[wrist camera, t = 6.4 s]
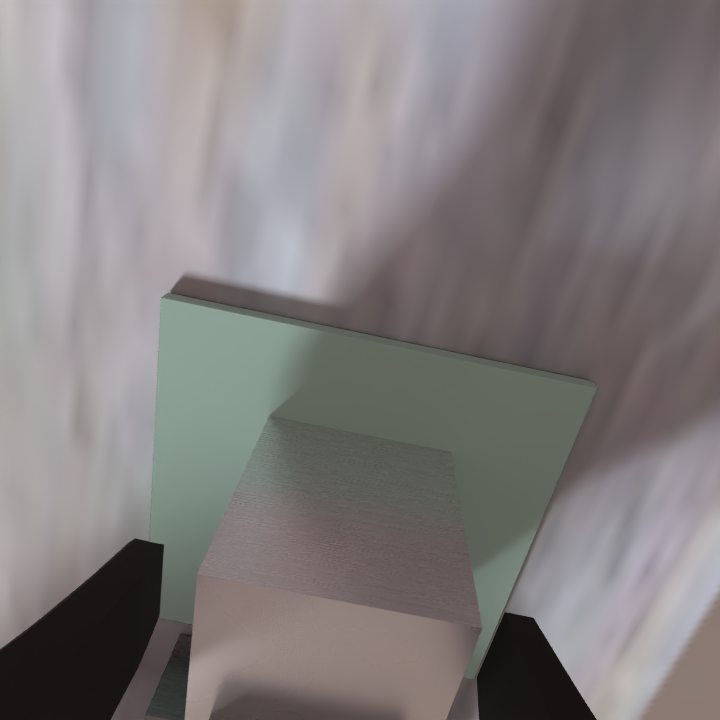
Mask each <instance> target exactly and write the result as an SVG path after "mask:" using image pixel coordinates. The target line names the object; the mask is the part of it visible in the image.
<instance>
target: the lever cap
mask: <svg viewBox="0 0 720 720" xmlns="http://www.w3.org/2000/svg"><path fill="white" fill-rule="evenodd" d="M481 631H482V623H481V617H480V612H479V606H478V600H477V595H476V589H475V583H474V578H473V572H472V566H471V561H470V555H469V550H468V544H467V538H466V533H465V527H464V521H463V516H462V510H461V505H460V499H459V493H458V488H457V482H456V476H455V471H454V465H453V459H452V454H451V452H450V451H445V450H440V449H435V448H430V447H425V446H420V445H415V444H410V443H405V442H399V441H394V440H389V439H384V438H379V437H374V436H369V435H364V434H359V433H354V432H349V431H344V430H339V429H334V428H328V427H323V426H318V425H313V424H308V423H303V422H298V421H293V420H288V419H283V418H278V417H273V416H269V417H268V419H267V421H266V423H265V426H264V428H263V430H262V432H261V434H260V437H259V439H258V441H257V443H256V445H255V448H254V450H253V452H252V454H251V456H250V459H249V461H248V463H247V465H246V468H245V470H244V472H243V474H242V476H241V479H240V481H239V483H238V485H237V487H236V490H235V492H234V494H233V496H232V498H231V501H230V503H229V505H228V507H227V509H226V512H225V514H224V516H223V518H222V520H221V523H220V525H219V527H218V529H217V532H216V534H215V536H214V538H213V540H212V543H211V545H210V547H209V549H208V551H207V554H206V556H205V558H204V560H203V562H202V565H201V567H200V569H199V571H198V573H197V583H196V595H195V606H194V618H193V629H192V640H191V652H190V663H189V675H188V686H187V698H186V709H185V720H446V719H447V716H448V714H449V711H450V709H451V706H452V704H453V701H454V699H455V696H456V694H457V691H458V689H459V686H460V684H461V681H462V679H463V676H464V674H465V671H466V669H467V666H468V664H469V661H470V659H471V656H472V654H473V651H474V649H475V646H476V644H477V641H478V638H479V636H480V633H481Z"/></svg>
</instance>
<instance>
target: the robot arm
mask: <svg viewBox="0 0 720 720" xmlns="http://www.w3.org/2000/svg"><path fill="white" fill-rule="evenodd" d="M163 554H164V544H159V543H154V542H148V541H143V540H138V539H134V540H132V541H130V542H129V543H128V544H127V545H126V546H124V547H123V548H122V549H121V550H120V551H119V552H118V553H117V554H116V555H115V556H114V557H112V558H111V559H110V560H109V561H108V562H107V563H106V564H105V565H104V566H102V567H101V568H100V569H99V570H98V571H97V572H96V573H94V574H93V575H92V576H91V577H90V578H89V579H88V580H86V581H85V582H84V583H83V584H82V585H81V586H79V587H78V588H77V589H76V590H75V591H74V592H72V593H71V594H70V595H69V596H68V597H66V598H65V599H64V600H63V601H61V602H60V603H59V604H58V605H57V606H55V607H54V608H53V609H52V610H51V611H49V612H48V613H47V614H46V615H44V616H43V617H42V618H41V619H40V620H38V621H37V622H36V623H35V624H33V625H32V626H31V627H29V628H28V629H27V630H25V631H24V632H23V633H21V634H20V635H19V636H18V637H16V638H15V639H14V640H12V641H11V642H10V643H8V644H7V645H6V646H4V647H3V648H2V649H0V720H110V719H111V718H112V716H113V714H114V712H115V710H116V708H117V706H118V704H119V703H120V701H121V699H122V697H123V695H124V693H125V691H126V689H127V688H128V686H129V684H130V682H131V680H132V678H133V676H134V674H135V672H136V670H137V669H138V667H139V664H140V662H141V659H142V657H143V655H144V652H145V650H146V648H147V645H148V643H149V640H150V638H151V635H152V633H153V631H154V628H155V626H156V623H157V621H158V618H159V616H160V602H161V586H162V570H163ZM477 688H478V708H479V720H597V719H596V718H595V716H594V715H593V713H592V712H591V710H590V709H589V707H588V706H587V704H586V702H585V701H584V699H583V698H582V696H581V695H580V693H579V691H578V690H577V688H576V687H575V685H574V683H573V682H572V680H571V678H570V677H569V675H568V674H567V672H566V670H565V669H564V667H563V665H562V664H561V662H560V661H559V659H558V657H557V656H556V654H555V652H554V651H553V649H552V647H551V646H550V644H549V642H548V641H547V639H546V638H545V636H544V634H543V633H542V631H541V629H540V628H539V626H538V625H537V623H536V621H535V620H534V618H531V617H526V616H521V615H516V614H511V613H506V612H505V613H504V615H503V618H502V620H501V622H500V625H499V627H498V629H497V632H496V634H495V636H494V639H493V641H492V643H491V646H490V648H489V650H488V653H487V655H486V657H485V660H484V662H483V664H482V667H481V669H480V671H479V674H478V676H477Z"/></svg>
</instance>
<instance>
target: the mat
mask: <svg viewBox="0 0 720 720" xmlns="http://www.w3.org/2000/svg"><path fill="white" fill-rule="evenodd" d="M596 391H597V387H596V386H595V385H594V384H593V382H592V381H589V380H584V379H579V378H575V377H570V376H565V375H560V374H556V373H551V372H546V371H541V370H536V369H532V368H527V367H522V366H517V365H512V364H508V363H503V362H498V361H493V360H488V359H484V358H479V357H474V356H469V355H464V354H460V353H455V352H450V351H445V350H440V349H436V348H431V347H426V346H421V345H416V344H412V343H407V342H402V341H397V340H392V339H388V338H383V337H378V336H373V335H368V334H364V333H359V332H354V331H349V330H344V329H340V328H335V327H330V326H325V325H320V324H316V323H311V322H306V321H301V320H296V319H292V318H287V317H282V316H277V315H272V314H268V313H263V312H258V311H253V310H248V309H244V308H239V307H234V306H229V305H225V304H220V303H215V302H210V301H205V300H201V299H196V298H191V297H186V296H181V295H177V294H172V293H167V294H166V295H164V296H163V297H161V309H160V330H159V351H158V372H157V392H156V413H155V434H154V455H153V476H152V496H151V517H150V538H149V542H154V543H159V544H164V554H163V570H162V586H161V602H160V616H159V618H160V619H166V620H171V621H176V622H181V623H186V624H191V625H193V618H194V606H195V595H196V583H197V573H198V571H199V569H200V567H201V565H202V562H203V560H204V558H205V556H206V554H207V551H208V549H209V547H210V545H211V543H212V540H213V538H214V536H215V534H216V532H217V529H218V527H219V525H220V523H221V520H222V518H223V516H224V514H225V512H226V509H227V507H228V505H229V503H230V501H231V498H232V496H233V494H234V492H235V490H236V487H237V485H238V483H239V481H240V479H241V476H242V474H243V472H244V470H245V468H246V465H247V463H248V461H249V459H250V456H251V454H252V452H253V450H254V448H255V445H256V443H257V441H258V439H259V437H260V434H261V432H262V430H263V428H264V426H265V423H266V421H267V419H268V417H269V416H273V417H278V418H283V419H288V420H293V421H298V422H303V423H308V424H313V425H318V426H323V427H328V428H334V429H339V430H344V431H349V432H354V433H359V434H364V435H369V436H374V437H379V438H384V439H389V440H394V441H399V442H405V443H410V444H415V445H420V446H425V447H430V448H435V449H440V450H445V451H450V452H451V454H452V459H453V465H454V471H455V476H456V482H457V488H458V493H459V499H460V505H461V510H462V516H463V521H464V527H465V533H466V538H467V544H468V550H469V555H470V561H471V566H472V572H473V578H474V583H475V589H476V595H477V600H478V606H479V612H480V617H481V623H482V631H481V633H480V636H479V638H478V641H477V644H476V646H475V649H474V651H473V654H472V656H471V659H470V661H469V664H468V666H467V669H466V671H465V674H464V676H463V678H467V679H472V680H474V678H475V675H476V673H477V671H478V668H479V666H480V664H481V661H482V659H483V657H484V654H485V652H486V650H487V647H488V645H489V642H490V640H491V638H492V635H493V633H494V631H495V628H496V626H497V624H498V621H499V619H500V617H501V614H502V612H503V609H504V607H505V605H506V602H507V600H508V598H509V595H510V593H511V591H512V588H513V586H514V584H515V581H516V579H517V577H518V574H519V572H520V569H521V567H522V565H523V562H524V560H525V558H526V555H527V553H528V551H529V548H530V546H531V544H532V541H533V539H534V537H535V534H536V532H537V529H538V527H539V525H540V522H541V520H542V518H543V515H544V513H545V511H546V508H547V506H548V504H549V501H550V499H551V496H552V494H553V492H554V489H555V487H556V485H557V482H558V480H559V478H560V475H561V473H562V471H563V468H564V466H565V464H566V461H567V459H568V456H569V454H570V452H571V449H572V447H573V445H574V442H575V440H576V438H577V435H578V433H579V431H580V428H581V426H582V423H583V421H584V419H585V416H586V414H587V412H588V409H589V407H590V405H591V402H592V400H593V398H594V395H595V393H596Z"/></svg>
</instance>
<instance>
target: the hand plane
mask: <svg viewBox="0 0 720 720" xmlns="http://www.w3.org/2000/svg"><path fill="white" fill-rule="evenodd" d="M191 640H192V636H188V635H183V634H180V636H179V639H178V641H177V643H176V645H175V648H174V650H173V652H172V655H171V657H170V659H169V662H168V664H167V666H166V669H165V671H164V673H163V676H162V678H161V680H160V683H159V685H158V687H157V689H156V692H155V694H154V696H153V699H152V701H151V703H150V706H149V708H148V710H147V713H146V715H145V720H185V709H186V698H187V686H188V675H189V663H190V652H191Z"/></svg>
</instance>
